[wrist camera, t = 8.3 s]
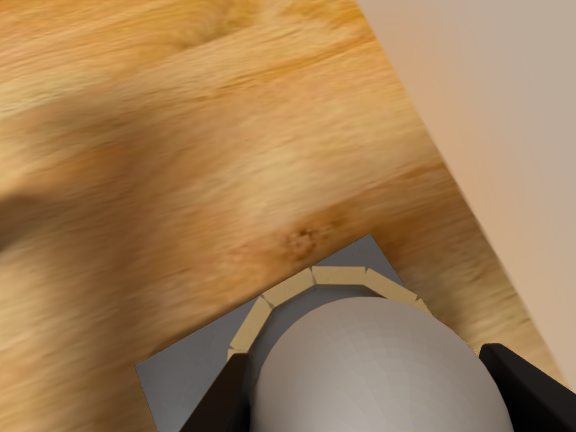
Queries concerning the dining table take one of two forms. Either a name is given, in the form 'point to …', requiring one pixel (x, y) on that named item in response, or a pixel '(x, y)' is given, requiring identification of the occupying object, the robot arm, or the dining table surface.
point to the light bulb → (374, 375)
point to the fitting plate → (214, 340)
